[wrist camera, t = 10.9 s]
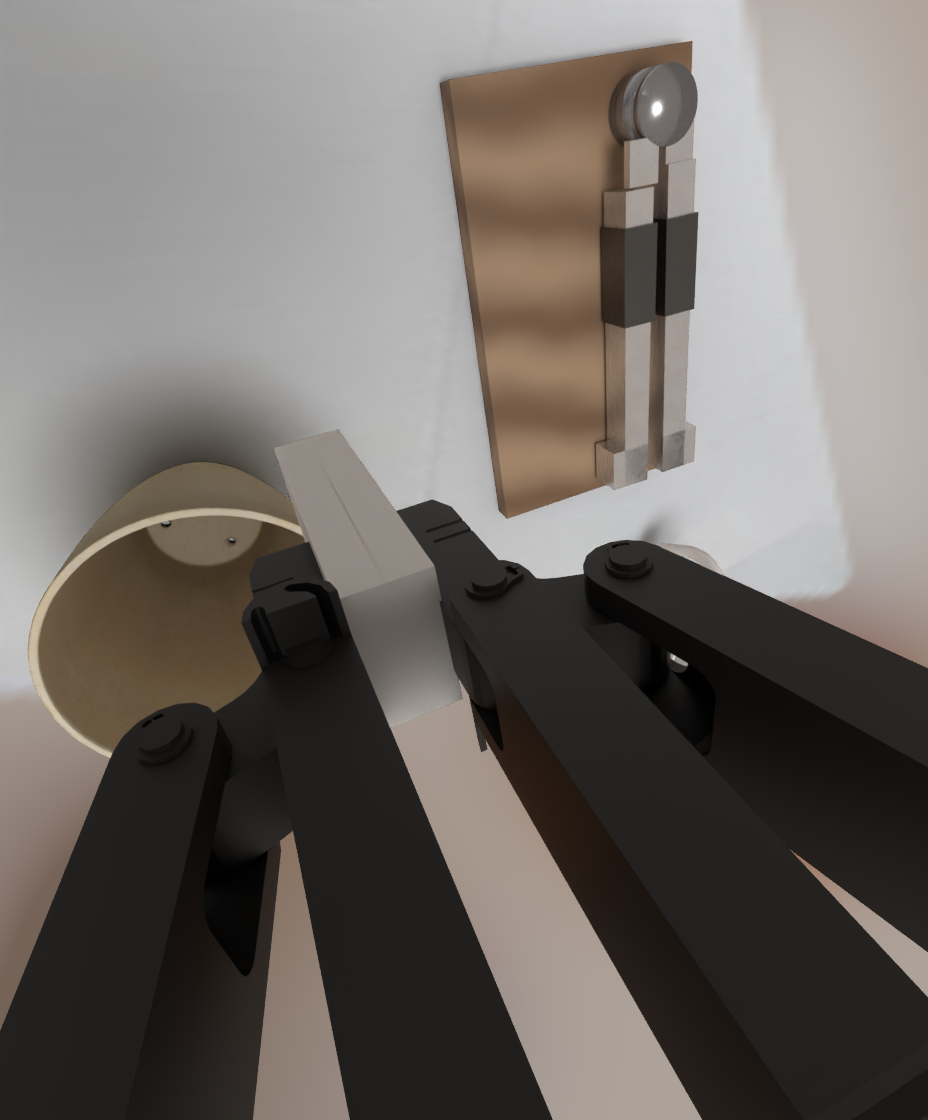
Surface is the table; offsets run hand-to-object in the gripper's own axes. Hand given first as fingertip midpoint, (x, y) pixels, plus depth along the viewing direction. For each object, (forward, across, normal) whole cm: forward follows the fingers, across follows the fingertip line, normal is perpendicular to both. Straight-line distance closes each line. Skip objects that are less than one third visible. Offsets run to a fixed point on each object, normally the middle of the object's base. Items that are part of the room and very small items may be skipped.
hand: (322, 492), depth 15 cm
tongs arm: (+27, +26, -5) cm, 38 cm away
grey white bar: (+27, +28, -5) cm, 39 cm away
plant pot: (+29, -6, -12) cm, 32 cm away
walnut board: (+28, +23, -5) cm, 37 cm away
